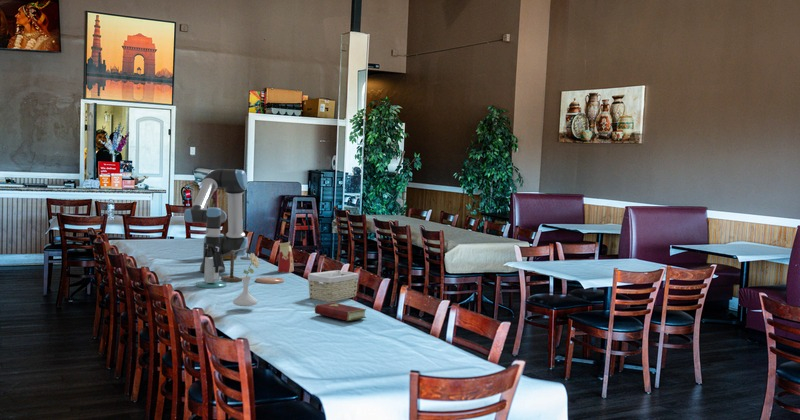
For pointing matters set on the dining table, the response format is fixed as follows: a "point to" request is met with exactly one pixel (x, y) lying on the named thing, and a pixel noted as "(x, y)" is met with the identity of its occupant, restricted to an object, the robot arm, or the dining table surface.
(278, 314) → the dining table surface
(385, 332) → the dining table surface
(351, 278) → the storage basket
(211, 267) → the small box
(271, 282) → the terracotta dish
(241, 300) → the flower in vase
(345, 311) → the hardcover book
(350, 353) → the dining table surface
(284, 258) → the milk carton
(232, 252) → the balance
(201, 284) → the teal dish
